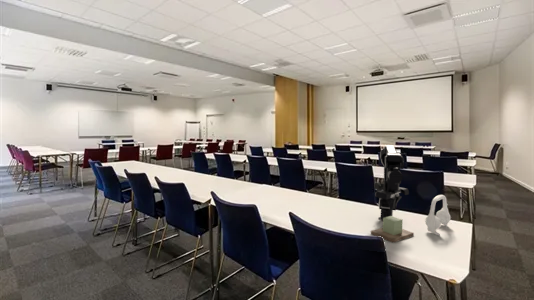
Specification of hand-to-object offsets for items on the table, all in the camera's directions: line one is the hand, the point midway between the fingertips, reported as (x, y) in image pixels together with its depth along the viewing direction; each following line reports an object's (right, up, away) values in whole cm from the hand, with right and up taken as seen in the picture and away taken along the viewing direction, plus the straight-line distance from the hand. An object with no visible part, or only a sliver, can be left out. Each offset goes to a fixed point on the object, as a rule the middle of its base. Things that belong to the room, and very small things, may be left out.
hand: (391, 209), depth 132 cm
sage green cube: (-1, -10, -2) cm, 11 cm away
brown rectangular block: (-1, -12, -2) cm, 12 cm away
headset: (+27, -12, +6) cm, 30 cm away
